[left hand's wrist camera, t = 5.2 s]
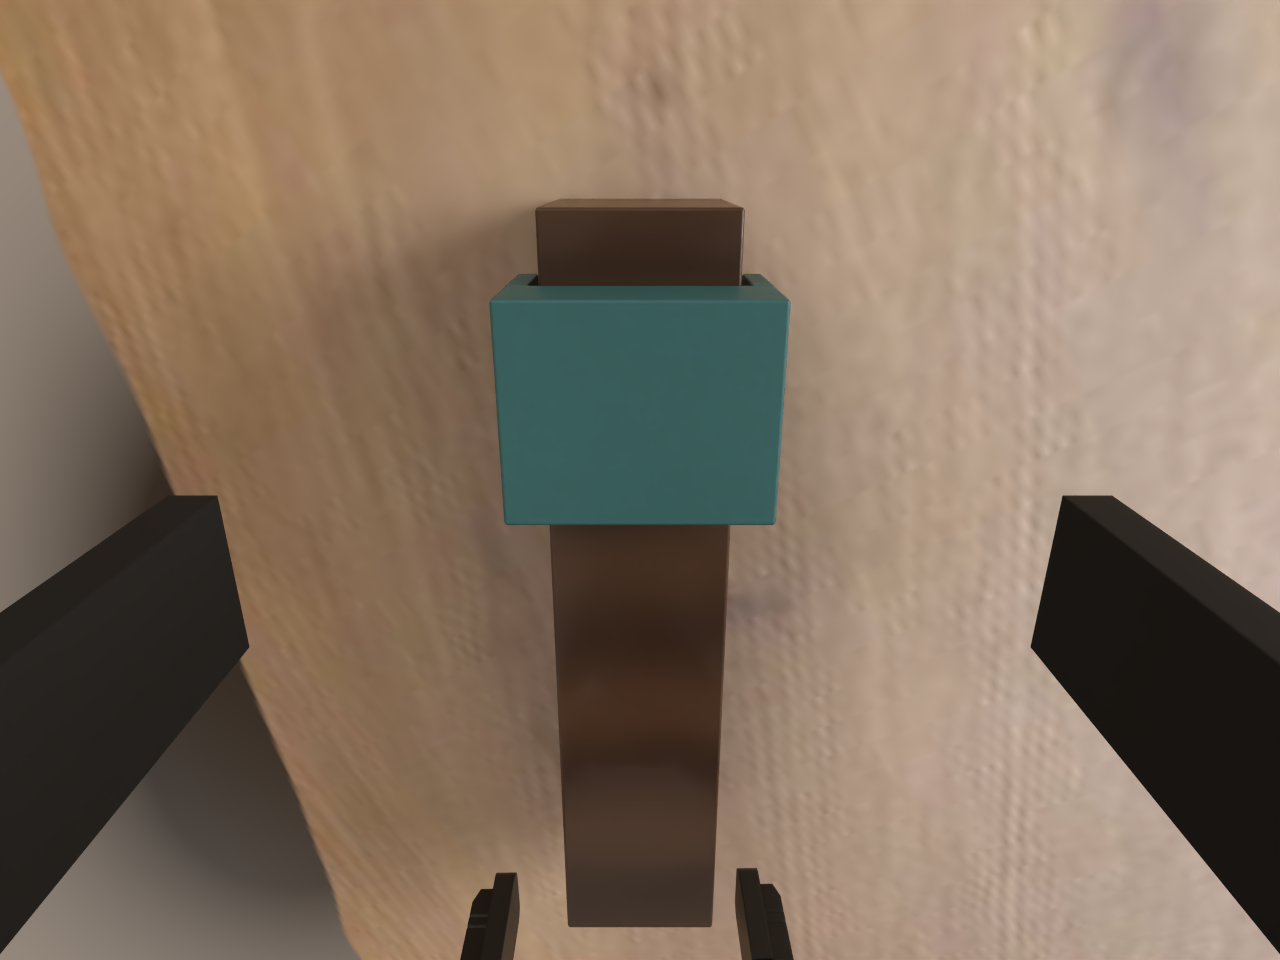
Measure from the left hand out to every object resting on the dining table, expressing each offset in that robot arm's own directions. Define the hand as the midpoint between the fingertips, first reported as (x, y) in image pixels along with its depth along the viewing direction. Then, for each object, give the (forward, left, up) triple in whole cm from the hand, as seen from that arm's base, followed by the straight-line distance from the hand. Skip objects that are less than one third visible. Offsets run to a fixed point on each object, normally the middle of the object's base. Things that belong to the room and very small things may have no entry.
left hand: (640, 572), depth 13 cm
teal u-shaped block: (0, 0, -13) cm, 13 cm away
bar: (+8, 0, -17) cm, 19 cm away
